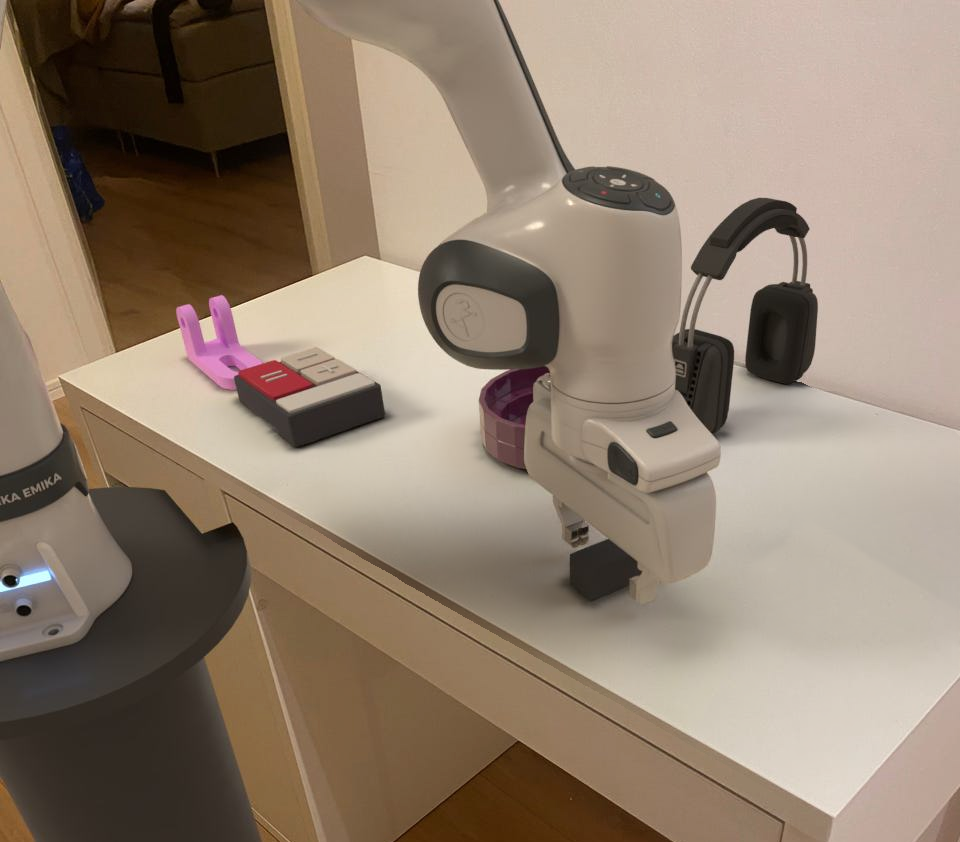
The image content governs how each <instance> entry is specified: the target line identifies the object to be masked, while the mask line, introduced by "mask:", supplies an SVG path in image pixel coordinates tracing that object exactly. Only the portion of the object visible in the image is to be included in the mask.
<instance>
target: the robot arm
mask: <svg viewBox="0 0 960 842" xmlns="http://www.w3.org/2000/svg"><path fill="white" fill-rule="evenodd" d="M296 1H297V2H298V4H299V6H300V7H301V8H302V10H304V12H305V13H306V14H307V15H308V16H309V17H311V18H312V19H313V20H315V21H316V22H317V23H319V24H320V25H322V26H323V27H325V28H327V29H328V30H330V31H332V32H334V33H336V34H338V35H340V36H343V37H345V38H347V39H350V40H353V41H357V42H362V43H364V44H368V45H371V46H375V47H378V48H380V49H384V50H386V51H388V52H389V53H392V54H395V56H399V57H401V58H402V59H404V60H406V61H407V62H409V63H410V64H412V65H413V66H415V67H416V68H417V69H418V70H420V71H421V72H422V73H423V74H424V75H425V76H426V77H427V78H428V79H429V80H430V82H431V83H432V84H433V85H434V86H435V88H436V90H437V91H438V92H439V94H440V96H441V98H442V99H443V101H444V103H445V105H446V107H447V109H448V112H449V115H450V116H451V119H452V121H453V122H454V125H455V127H456V129H457V131H458V133H459V135H460V137H461V139H462V142H463V143H464V146H465V148H466V150H467V152H468V154H469V157H470V158H471V161H472V163H473V165H474V167H475V169H476V171H477V173H478V175H479V178H480V180H481V181H482V184H483V186H484V189H485V193H486V200H487V201H486V202H487V205H486V211H485V212H484V213H483V214H482V215H480V216H478V217H475V218H473V219H472V220H470V221H468V223H466V224H464V225H463V226H461V227H460V228H458V229H457V230H456V231H454V232H453V233H451V234H450V235H449V236H447V237H446V238H445V239H443V240H442V241H441V242H440V243H439V244H438V245H437V246H436V247H434V249H432V250H431V251H430V252H429V254H428V255H427V256H426V258H425V259H424V262H423V263H422V266H421V269H420V272H419V275H418V276H419V277H418V283H417V299H418V306H419V310H420V314H421V317H422V319H423V322H424V325H425V327H426V329H427V331H428V333H429V334H430V336H431V337H432V339H433V340H434V342H435V343H436V345H438V347H439V348H440V349H441V350H442V351H443V352H444V353H446V354H447V356H449V357H450V358H452V359H453V360H455V361H456V362H458V363H460V364H462V365H465V366H467V367H469V368H473V369H478V370H492V371H493V370H494V371H495V370H496V371H497V370H500V371H507V370H515V369H530V368H537V367H541V366H546V367H547V368H548V369H549V371H550V373H546V374H544V375H543V376H541V377H539V378H538V379H537V381H536V382H535V383H534V386H533V403H532V404H531V405H530V406H529V408H528V411H527V416H526V426H525V441H524V462H525V466H526V469H525V470H526V471H527V473H528V476H529V478H530V479H532V480H533V481H534V482H535V483H536V484H538V485H539V486H541V488H543V489H544V490H546V491H547V492H548V493H549V494H551V495H552V503H553V506H554V508H555V511H556V513H557V514H556V515H557V517H558V519H559V523H560V524H561V539H562V540H563V541H564V542H565V543H566V544H568V545H569V546H570V547H572V548H573V549H574V548H575V549H576V548H578V547H579V546H584V545H586V544H587V543H588V542H589V538H590V536H589V535H590V534H589V532H590V526H591V527H593V528H594V529H595V530H597V531H598V532H599V533H600V534H601V535H603V536H604V537H605V538H607V539H609V540H611V541H612V542H613V543H614V544H616V545H617V546H618V547H620V548H621V549H622V550H623V551H625V552H626V553H627V554H628V555H630V556H631V557H632V558H634V559H635V560H636V561H637V562H638V564H637V567H638V569H639V570H640V571H642V573H641V574H640V576H634V577H632V578H630V579H629V585H628V588H629V589H628V595H629V596H630V597H632V598H633V600H635V602H637V603H639V604H640V605H645V604H647V603H650V602H652V601H654V600H656V598H657V597H658V596H659V583H660V581H661V582H662V583H665V584H673V583H676V582H679V581H681V580H684V579H687V578H689V577H691V576H694V575H695V574H698V573H699V572H701V571H703V570H704V569H705V568H706V567H707V566H708V565H709V563H710V561H711V559H712V555H713V549H714V548H713V547H714V541H715V532H716V520H717V519H716V517H717V494H716V493H717V492H716V488H715V485H714V481H713V480H712V478H711V475H710V474H709V473H708V472H711V471H712V470H714V469H716V468H717V467H719V465H720V461H721V455H722V450H721V445H720V442H719V441H718V439H717V438H716V437H715V435H714V434H711V433H710V431H709V430H708V429H707V428H706V427H705V426H704V425H703V424H702V423H701V421H700V420H699V419H698V418H697V417H696V415H695V414H694V413H693V411H692V410H691V409H690V407H689V406H688V404H687V403H686V401H685V399H684V398H683V396H682V395H681V393H680V392H679V391H678V390H675V382H676V366H675V361H674V358H673V353H672V341H673V336H674V335H675V334H676V333H675V332H676V329H677V328H678V324H679V321H680V318H681V308H682V307H681V306H682V286H683V285H682V283H683V282H682V281H683V249H682V248H683V247H682V232H681V223H680V217H679V211H678V208H677V204H676V203H675V200H674V197H673V196H672V195H671V193H670V192H669V190H668V189H667V188H666V187H665V186H663V185H662V184H661V183H659V182H658V181H657V180H655V178H653V177H651V176H649V175H647V174H644V173H642V172H638V171H636V170H632V169H629V168H624V167H618V166H612V165H611V166H610V165H609V166H608V165H607V166H586V167H581V168H580V167H579V168H576V169H575V167H574V166H573V164H572V163H571V161H570V159H569V157H568V156H567V154H566V152H565V150H564V148H563V146H562V145H561V142H560V140H559V138H558V135H557V133H556V131H555V129H554V126H553V123H552V122H551V119H550V117H549V115H548V112H547V109H546V108H545V105H544V103H543V100H542V98H541V96H540V93H539V90H538V89H537V86H536V84H535V81H534V79H533V76H532V74H531V72H530V69H529V67H528V65H527V62H526V60H525V57H524V55H523V53H522V51H521V48H520V45H519V44H518V41H517V38H516V36H515V34H514V32H513V30H512V27H511V25H510V23H509V20H508V17H507V15H506V13H505V11H504V9H503V7H502V4H501V3H500V1H499V0H296ZM7 4H8V0H0V49H1V47H2V40H3V33H4V26H5V20H6V19H5V18H6V12H7ZM55 407H56V406H55V404H54V402H53V399H52V396H51V394H50V391H49V389H48V385H47V383H46V380H45V377H44V375H43V372H42V369H41V366H40V364H39V361H38V358H37V355H36V352H35V350H34V347H33V344H32V341H31V339H30V336H29V335H28V333H27V331H26V330H25V329H24V328H23V325H22V323H21V321H20V320H19V317H18V315H17V314H16V311H15V310H14V307H13V305H12V303H11V301H10V299H9V297H8V295H7V293H6V291H5V288H4V286H3V284H2V282H1V281H0V661H5V660H9V659H13V658H17V657H21V656H25V655H30V654H34V653H38V652H42V651H46V650H50V649H55V648H59V647H63V646H67V645H71V644H74V643H76V642H78V641H80V640H81V639H82V638H83V637H84V636H85V635H86V634H87V633H88V631H89V630H90V628H91V626H92V624H93V623H94V621H95V619H96V618H97V617H98V616H99V615H100V614H101V613H102V612H104V611H105V610H106V609H107V608H109V607H110V606H111V605H112V604H113V603H114V602H116V601H117V600H118V598H119V597H120V596H121V595H122V594H123V593H124V591H125V590H126V588H127V587H128V585H129V583H130V580H131V577H132V564H131V561H130V560H129V558H128V557H127V555H126V554H125V553H124V552H123V551H122V549H121V548H120V547H119V545H118V544H117V543H116V541H115V540H114V538H113V537H112V535H111V534H110V532H109V531H108V529H107V527H106V525H105V524H104V522H103V520H102V519H101V517H100V515H99V513H98V511H97V509H96V507H95V505H94V503H93V501H92V499H91V497H90V495H89V489H90V488H89V484H88V476H87V472H86V470H85V467H84V464H83V461H82V459H81V456H80V454H79V449H78V447H77V445H76V443H75V440H74V438H73V437H72V436H71V434H70V432H69V431H68V428H67V427H66V425H65V424H63V423H62V422H61V421H60V419H59V416H58V414H57V410H56V408H55Z"/></svg>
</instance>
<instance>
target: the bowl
mask: <svg viewBox="0 0 960 842" xmlns="http://www.w3.org/2000/svg"><path fill="white" fill-rule="evenodd" d="M546 373H550V371H549V369H548V368H547V367H546V366H541V367H537V368H530V369H515V370H504V371H503V372H502V373H500V374H498V375H496V376H494V377H492V378H491V379H489V381H487V382H486V384H485V385H484V386H483V387H481V389H480V393H479V396H478V409H479V410H478V413H479V427H480V429H479V430H480V439H481V442H482V444H483V446H484V449H485V451H486V452H487V453H489V454H490V455H491V456H492V457H494V459H496V460H497V461H500V462H502V463H504V464H506V465H510V466H512V467H515V468H517V469H524V470H527V469H526V466H525V462H524V441H525V426H526V416H527V411H528V408H529V406H530V405H531V404H532V403H533V386H534V383H535V382H536V381H537V379H538V378H539V377H541V376H543V375H544V374H546Z"/></svg>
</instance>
